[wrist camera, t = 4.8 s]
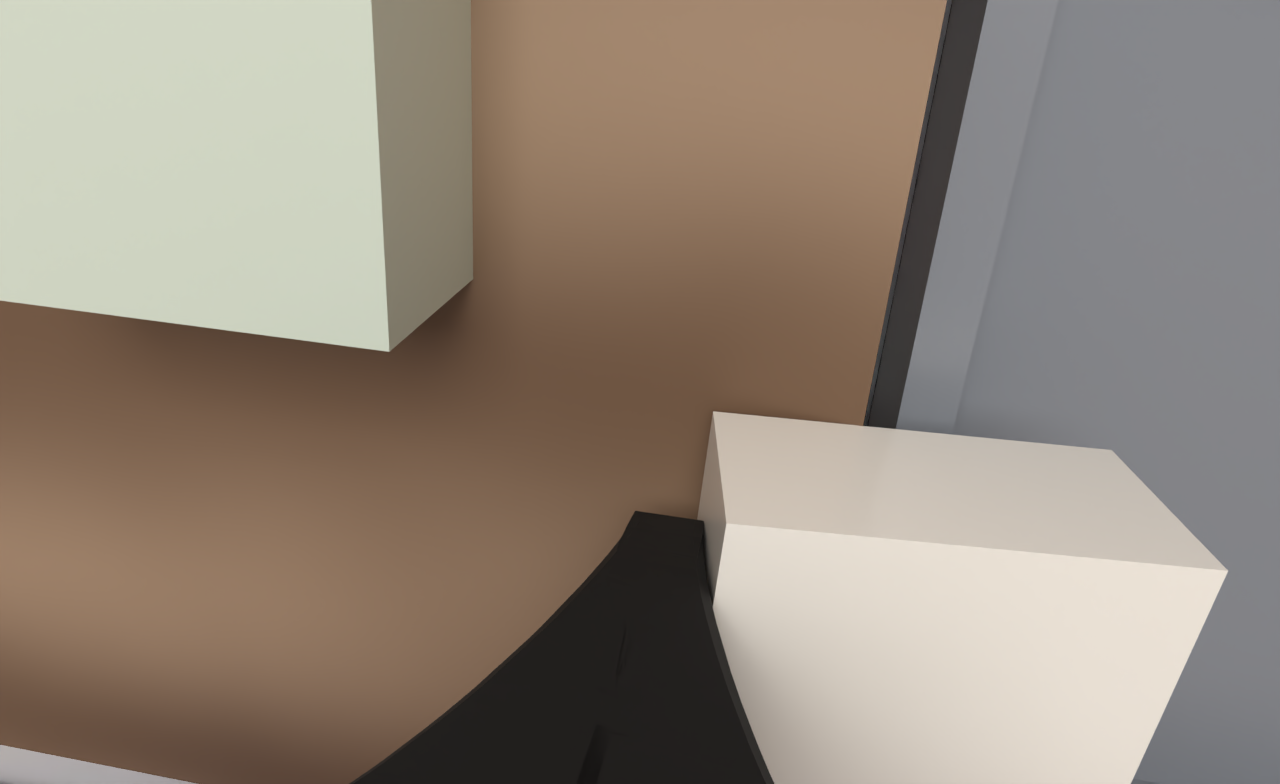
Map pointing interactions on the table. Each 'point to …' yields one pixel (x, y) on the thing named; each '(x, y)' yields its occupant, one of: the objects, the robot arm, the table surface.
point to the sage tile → (238, 162)
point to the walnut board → (456, 396)
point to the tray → (1117, 298)
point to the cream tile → (945, 603)
